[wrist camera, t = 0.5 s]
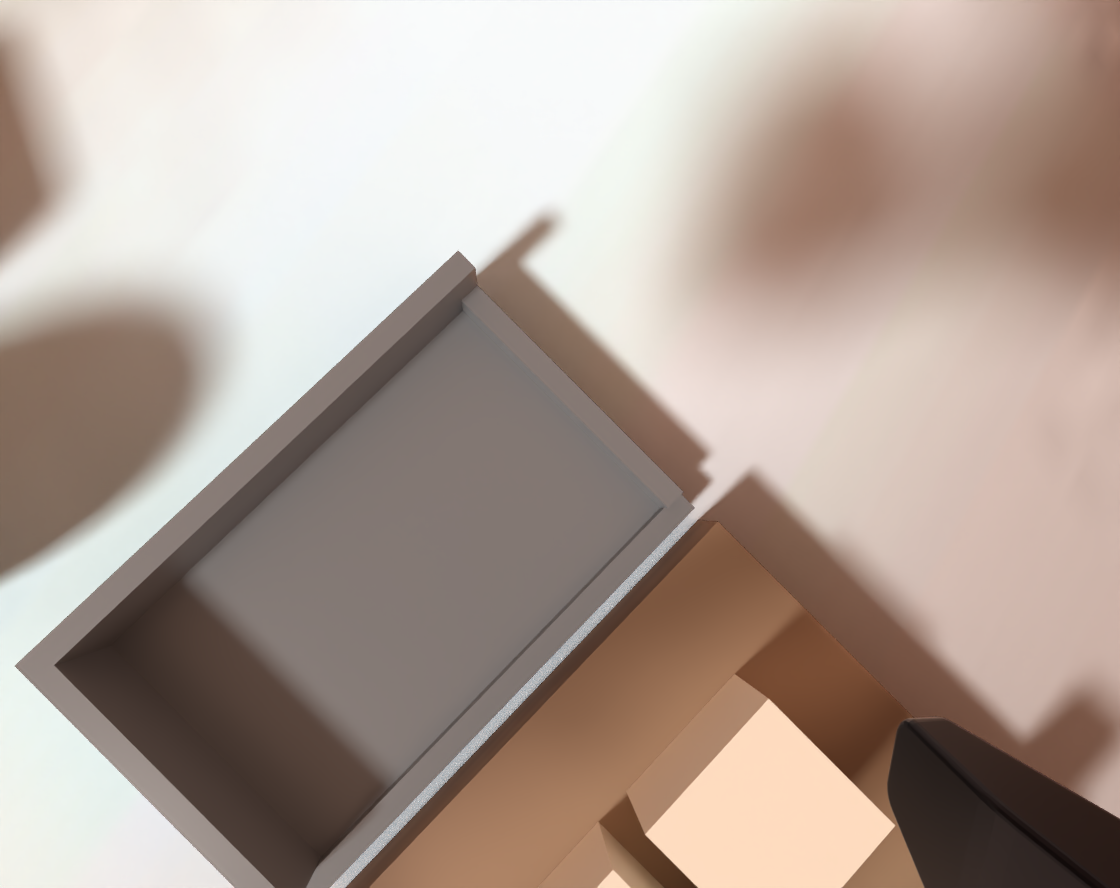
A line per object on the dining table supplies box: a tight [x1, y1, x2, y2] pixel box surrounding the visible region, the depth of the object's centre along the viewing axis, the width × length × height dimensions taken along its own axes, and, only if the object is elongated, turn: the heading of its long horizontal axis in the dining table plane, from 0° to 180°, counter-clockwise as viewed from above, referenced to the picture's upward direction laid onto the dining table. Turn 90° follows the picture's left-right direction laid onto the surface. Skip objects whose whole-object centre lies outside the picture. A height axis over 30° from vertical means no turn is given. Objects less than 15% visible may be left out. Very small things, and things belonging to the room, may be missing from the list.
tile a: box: [626, 674, 895, 888], centre depth 18 cm, size 4×4×2 cm
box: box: [15, 251, 694, 888], centre depth 19 cm, size 9×14×3 cm, turn 135°
